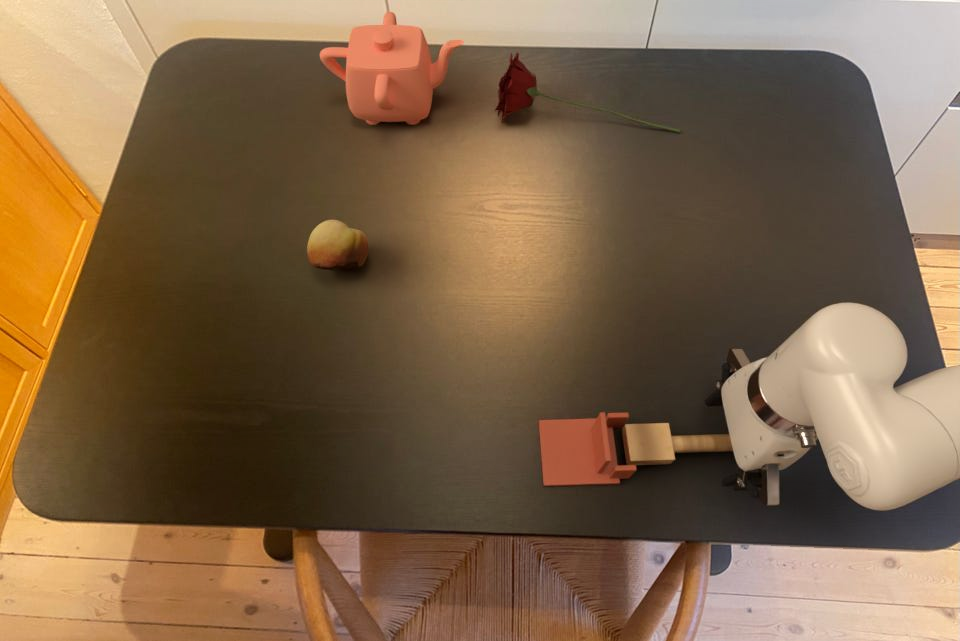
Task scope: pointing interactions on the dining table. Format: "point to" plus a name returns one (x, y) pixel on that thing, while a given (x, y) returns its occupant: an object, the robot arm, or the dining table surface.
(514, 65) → the flower
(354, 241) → the fruit
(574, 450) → the brush stand
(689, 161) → the dining table surface
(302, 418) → the dining table surface
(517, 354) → the dining table surface
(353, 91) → the teapot
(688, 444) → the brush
